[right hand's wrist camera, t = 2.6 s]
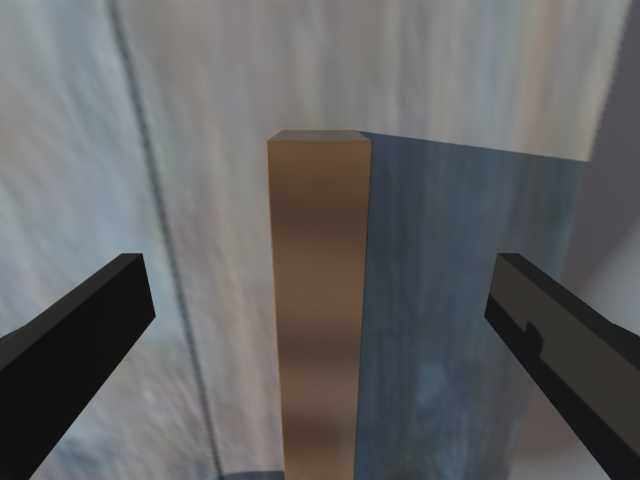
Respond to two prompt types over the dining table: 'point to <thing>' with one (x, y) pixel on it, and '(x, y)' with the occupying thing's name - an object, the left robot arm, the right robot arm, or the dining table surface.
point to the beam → (319, 293)
